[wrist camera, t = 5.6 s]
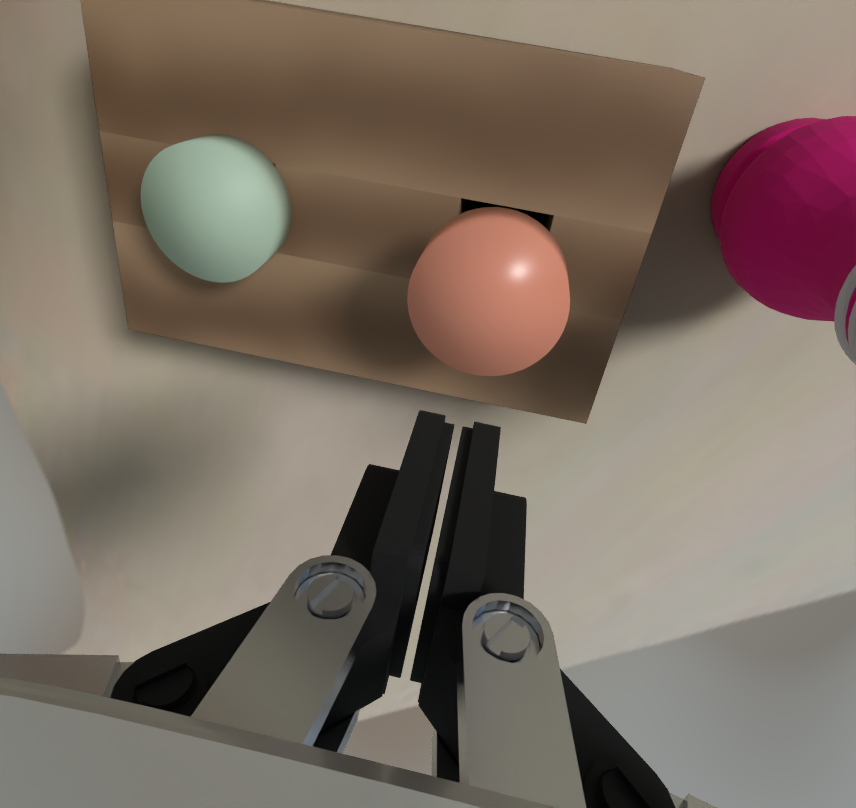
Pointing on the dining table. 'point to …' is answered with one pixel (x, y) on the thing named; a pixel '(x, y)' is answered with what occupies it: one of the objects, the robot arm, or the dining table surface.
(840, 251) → the pepper mill
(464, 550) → the robot arm
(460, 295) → the red button
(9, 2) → the dining table surface
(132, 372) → the dining table surface
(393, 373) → the button panel
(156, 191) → the green button
